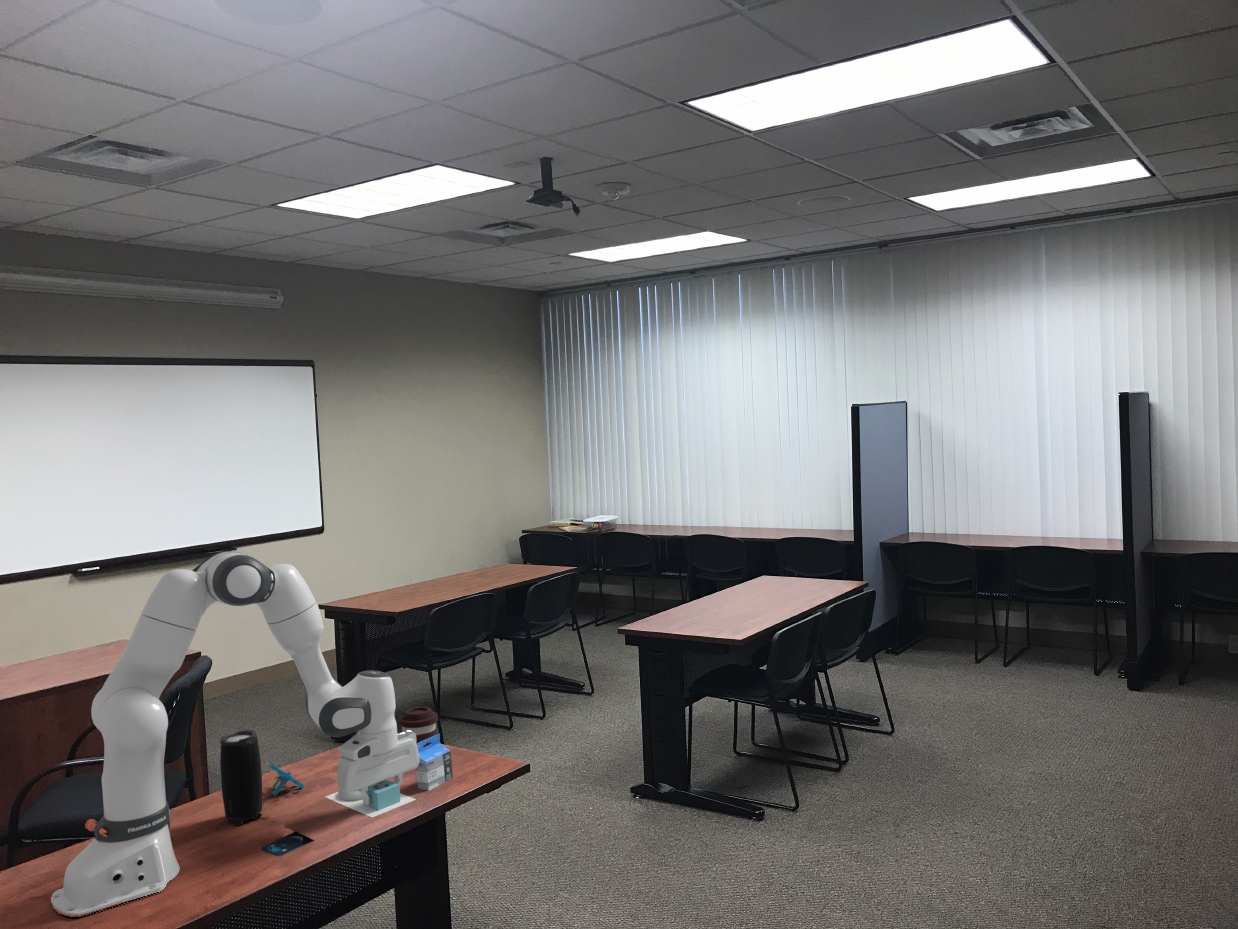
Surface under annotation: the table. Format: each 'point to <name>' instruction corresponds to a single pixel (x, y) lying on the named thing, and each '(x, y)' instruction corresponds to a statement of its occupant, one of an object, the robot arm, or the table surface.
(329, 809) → the table surface
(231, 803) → the portable speaker
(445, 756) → the label tape box
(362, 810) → the stand board
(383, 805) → the teal box with opening
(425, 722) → the coffee cup
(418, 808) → the table surface
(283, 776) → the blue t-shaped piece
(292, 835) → the smartphone
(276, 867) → the table surface
